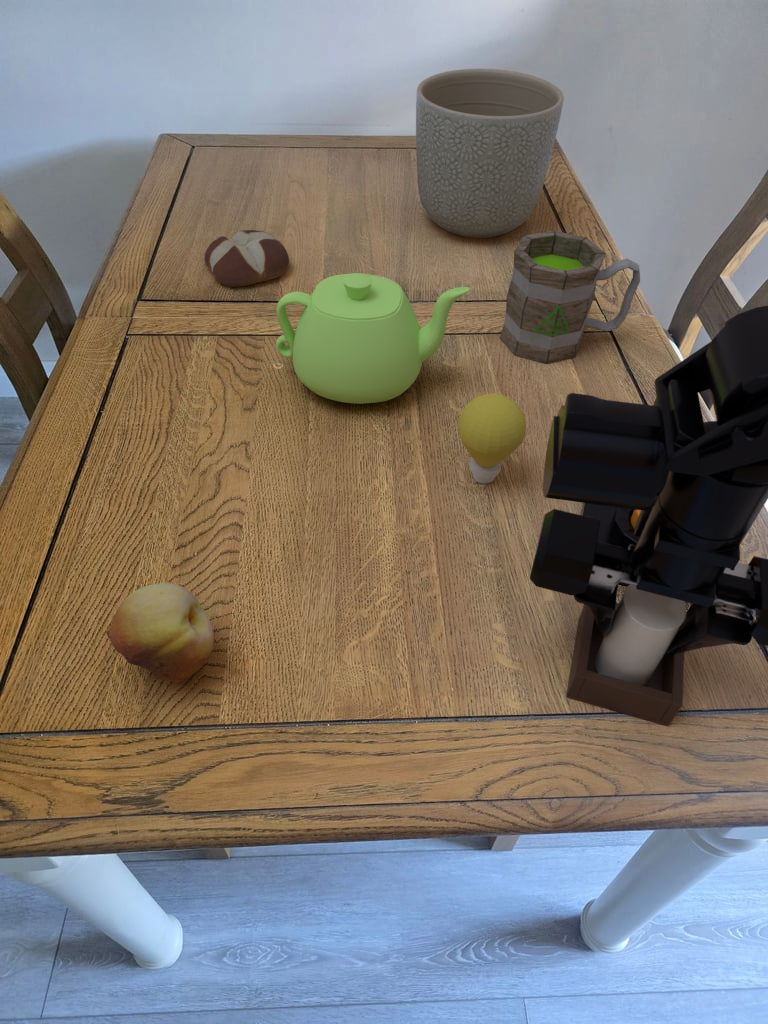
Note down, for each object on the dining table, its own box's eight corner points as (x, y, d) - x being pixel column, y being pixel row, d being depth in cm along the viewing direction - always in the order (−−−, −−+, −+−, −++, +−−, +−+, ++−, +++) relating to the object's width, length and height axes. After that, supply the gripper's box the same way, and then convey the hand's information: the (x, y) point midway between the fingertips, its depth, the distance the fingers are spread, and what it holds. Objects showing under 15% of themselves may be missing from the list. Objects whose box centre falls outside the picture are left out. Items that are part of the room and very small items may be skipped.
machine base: (704, 527, 70) (719, 499, 67) (703, 605, 64) (719, 579, 61) (583, 498, 73) (592, 471, 70) (570, 572, 66) (579, 544, 63)
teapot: (459, 348, 90) (470, 251, 81) (457, 424, 80) (469, 324, 71) (289, 337, 91) (280, 240, 82) (266, 411, 81) (252, 310, 72)
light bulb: (528, 478, 75) (546, 403, 67) (484, 508, 72) (498, 433, 64) (482, 445, 78) (494, 371, 71) (438, 472, 75) (446, 398, 68)
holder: (672, 643, 61) (686, 620, 59) (668, 726, 56) (682, 705, 53) (578, 618, 63) (587, 595, 60) (565, 697, 57) (575, 675, 55)
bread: (298, 278, 101) (295, 245, 98) (221, 295, 98) (215, 262, 94) (272, 244, 108) (268, 212, 104) (199, 259, 105) (193, 226, 101)
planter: (537, 197, 121) (559, 71, 107) (542, 257, 107) (569, 121, 93) (415, 190, 122) (422, 64, 108) (405, 248, 108) (411, 112, 94)
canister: (652, 651, 60) (687, 588, 53) (649, 698, 57) (685, 637, 50) (597, 636, 61) (625, 572, 54) (591, 682, 58) (620, 620, 51)
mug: (503, 362, 88) (518, 274, 80) (496, 315, 96) (509, 229, 87) (628, 366, 88) (658, 278, 79) (612, 318, 96) (637, 233, 87)
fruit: (198, 712, 56) (178, 659, 50) (105, 686, 58) (75, 631, 52) (237, 633, 61) (223, 577, 55) (150, 611, 62) (127, 554, 57)
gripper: (850, 456, 48) (756, 592, 59) (573, 399, 52) (536, 538, 63) (873, 581, 41) (761, 708, 52) (550, 505, 44) (512, 640, 56)
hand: (636, 640), depth 56 cm, fingers open, 5 cm apart
